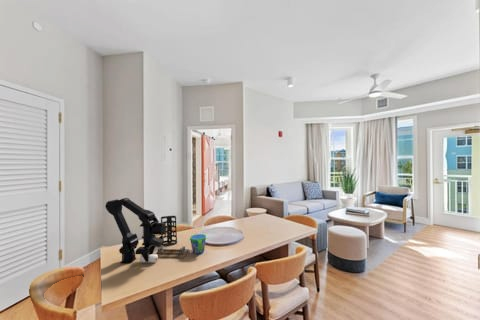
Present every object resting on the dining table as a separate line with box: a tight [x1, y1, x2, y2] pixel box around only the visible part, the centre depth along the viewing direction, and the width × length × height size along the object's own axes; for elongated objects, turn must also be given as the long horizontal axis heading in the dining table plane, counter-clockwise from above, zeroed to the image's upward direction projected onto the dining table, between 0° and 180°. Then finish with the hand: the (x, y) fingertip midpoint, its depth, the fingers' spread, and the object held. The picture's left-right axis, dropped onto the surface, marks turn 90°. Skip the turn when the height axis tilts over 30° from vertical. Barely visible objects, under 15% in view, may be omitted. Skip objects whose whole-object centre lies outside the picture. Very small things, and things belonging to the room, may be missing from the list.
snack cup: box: [189, 233, 207, 255], centre depth 141 cm, size 16×10×10 cm
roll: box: [139, 253, 159, 263], centre depth 128 cm, size 10×4×4 cm, turn 86°
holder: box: [160, 215, 178, 246], centre depth 158 cm, size 11×8×20 cm
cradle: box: [155, 245, 190, 259], centre depth 139 cm, size 20×11×4 cm, turn 86°
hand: (149, 259), depth 128 cm, fingers closed on roll, 4 cm apart
